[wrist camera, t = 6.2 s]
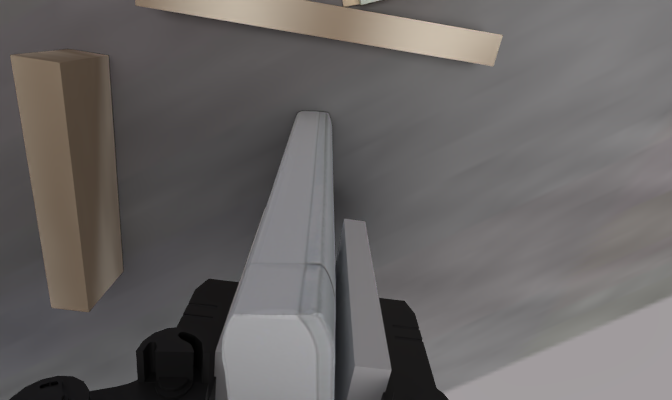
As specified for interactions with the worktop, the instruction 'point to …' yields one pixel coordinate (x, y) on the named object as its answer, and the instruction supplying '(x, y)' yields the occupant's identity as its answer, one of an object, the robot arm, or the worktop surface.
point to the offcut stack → (357, 2)
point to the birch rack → (98, 133)
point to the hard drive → (289, 281)
